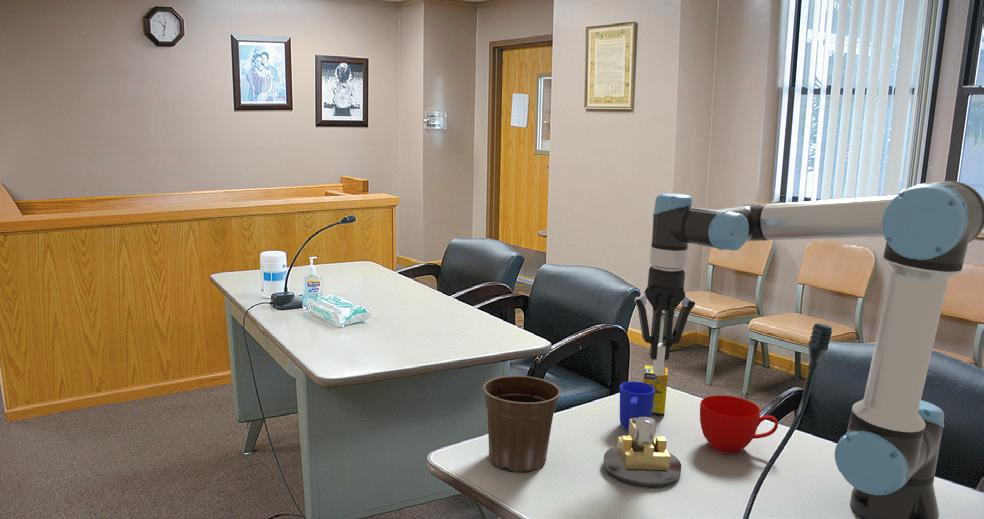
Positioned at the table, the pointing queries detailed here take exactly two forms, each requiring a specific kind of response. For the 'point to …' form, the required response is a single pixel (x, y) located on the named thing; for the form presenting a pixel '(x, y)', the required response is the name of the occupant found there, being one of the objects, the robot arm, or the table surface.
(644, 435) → the round base with post
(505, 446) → the plant pot
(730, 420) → the ceramic cup
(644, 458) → the yellow stepped block
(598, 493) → the table surface
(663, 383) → the supplement box
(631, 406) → the mug
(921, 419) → the robot arm
